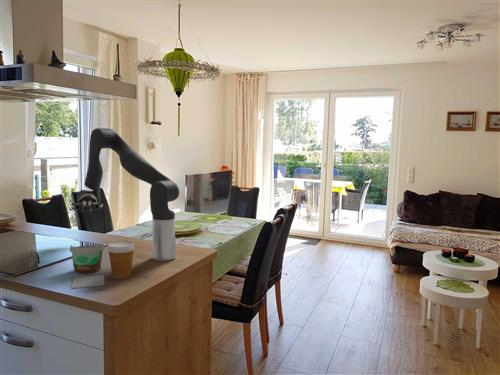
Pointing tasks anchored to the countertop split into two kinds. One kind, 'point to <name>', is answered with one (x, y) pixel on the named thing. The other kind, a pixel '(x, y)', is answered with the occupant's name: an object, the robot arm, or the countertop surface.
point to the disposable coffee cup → (121, 258)
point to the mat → (88, 281)
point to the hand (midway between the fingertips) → (86, 209)
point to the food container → (87, 258)
